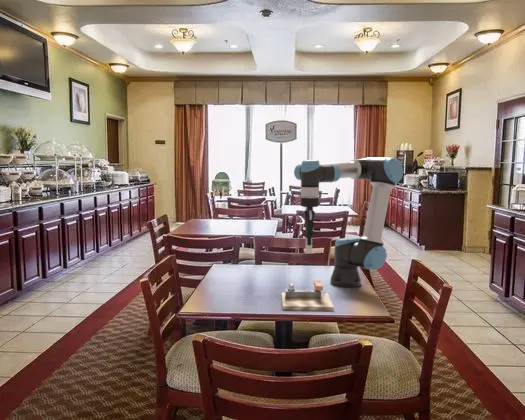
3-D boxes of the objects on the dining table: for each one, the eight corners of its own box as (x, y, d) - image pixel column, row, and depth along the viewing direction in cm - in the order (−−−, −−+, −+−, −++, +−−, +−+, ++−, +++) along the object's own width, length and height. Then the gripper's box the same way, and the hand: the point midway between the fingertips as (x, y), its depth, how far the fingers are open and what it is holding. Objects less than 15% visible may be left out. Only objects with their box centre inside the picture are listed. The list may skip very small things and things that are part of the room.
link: (285, 298, 202) (285, 291, 202) (285, 294, 207) (285, 288, 207) (321, 299, 201) (321, 292, 201) (320, 295, 206) (320, 289, 206)
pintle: (296, 295, 207) (296, 283, 206) (296, 298, 202) (297, 286, 201) (285, 295, 207) (285, 283, 206) (285, 298, 202) (286, 286, 201)
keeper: (320, 293, 210) (320, 280, 209) (322, 299, 201) (323, 286, 200) (313, 293, 210) (313, 280, 209) (315, 299, 201) (316, 286, 200)
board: (327, 296, 211) (327, 292, 211) (333, 310, 191) (333, 307, 191) (281, 295, 211) (281, 292, 211) (282, 309, 192) (282, 306, 191)
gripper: (299, 195, 201) (298, 249, 204) (302, 198, 188) (301, 255, 191) (316, 195, 201) (315, 249, 204) (320, 198, 188) (319, 255, 191)
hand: (308, 252), depth 198 cm, fingers closed
